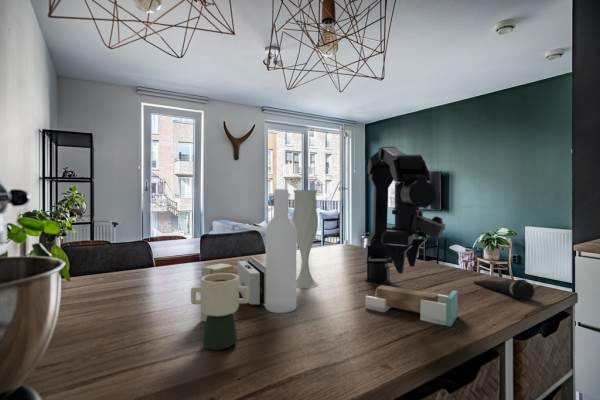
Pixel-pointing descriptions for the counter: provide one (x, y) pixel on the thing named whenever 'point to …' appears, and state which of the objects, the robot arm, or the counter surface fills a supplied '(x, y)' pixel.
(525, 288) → the microphone
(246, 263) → the bracket
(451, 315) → the rail brackets
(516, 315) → the counter surface
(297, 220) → the vase
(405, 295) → the rail
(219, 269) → the skincare box
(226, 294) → the character mug
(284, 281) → the bottle
